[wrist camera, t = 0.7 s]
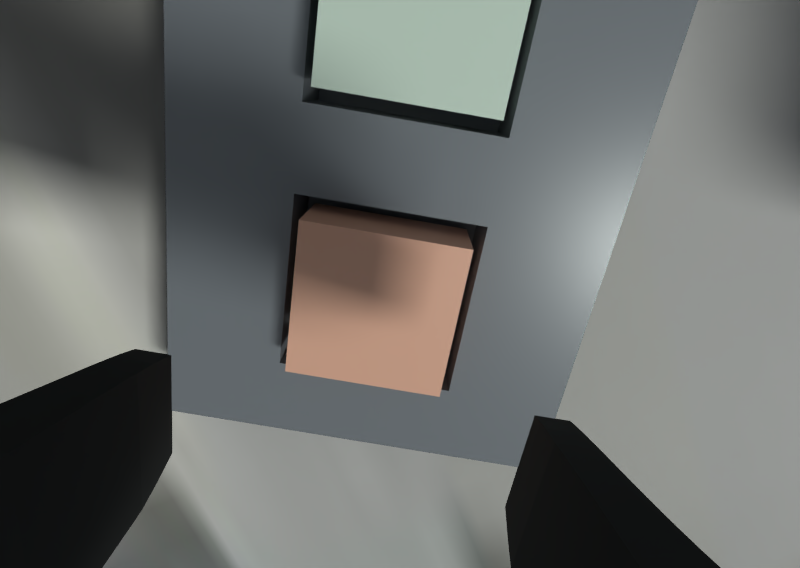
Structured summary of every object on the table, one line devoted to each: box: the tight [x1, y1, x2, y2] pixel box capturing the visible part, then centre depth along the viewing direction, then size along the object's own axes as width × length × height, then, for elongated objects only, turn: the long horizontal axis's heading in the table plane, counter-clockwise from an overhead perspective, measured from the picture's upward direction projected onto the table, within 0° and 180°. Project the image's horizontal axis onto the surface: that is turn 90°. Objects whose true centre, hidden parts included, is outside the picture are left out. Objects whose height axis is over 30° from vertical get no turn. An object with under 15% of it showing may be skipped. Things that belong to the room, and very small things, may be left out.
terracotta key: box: [285, 203, 473, 397], centre depth 14 cm, size 4×4×2 cm
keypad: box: [164, 0, 698, 467], centre depth 12 cm, size 12×25×2 cm, turn 171°
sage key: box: [311, 0, 531, 121], centre depth 11 cm, size 4×4×2 cm
